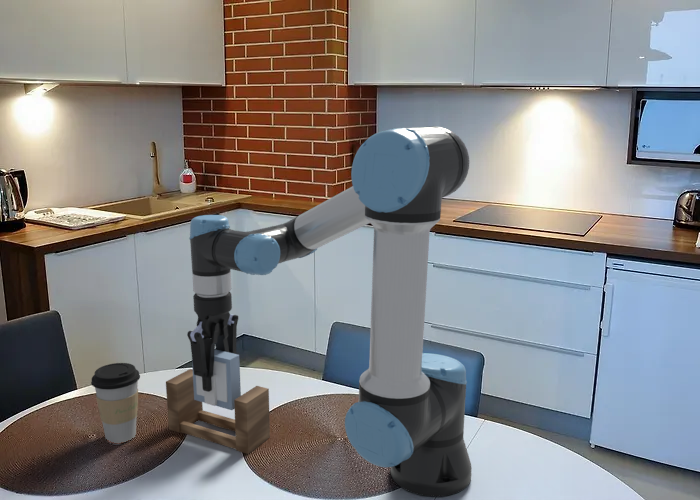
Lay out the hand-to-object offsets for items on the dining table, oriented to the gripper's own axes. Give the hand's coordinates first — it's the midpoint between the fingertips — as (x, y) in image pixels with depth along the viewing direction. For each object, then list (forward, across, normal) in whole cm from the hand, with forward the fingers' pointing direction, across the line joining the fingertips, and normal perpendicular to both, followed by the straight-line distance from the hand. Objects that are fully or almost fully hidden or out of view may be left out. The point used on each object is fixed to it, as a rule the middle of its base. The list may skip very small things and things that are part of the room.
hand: (217, 399), depth 135 cm
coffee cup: (+8, +11, -17) cm, 22 cm away
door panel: (+1, 0, 0) cm, 1 cm away
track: (+8, 0, 0) cm, 8 cm away
